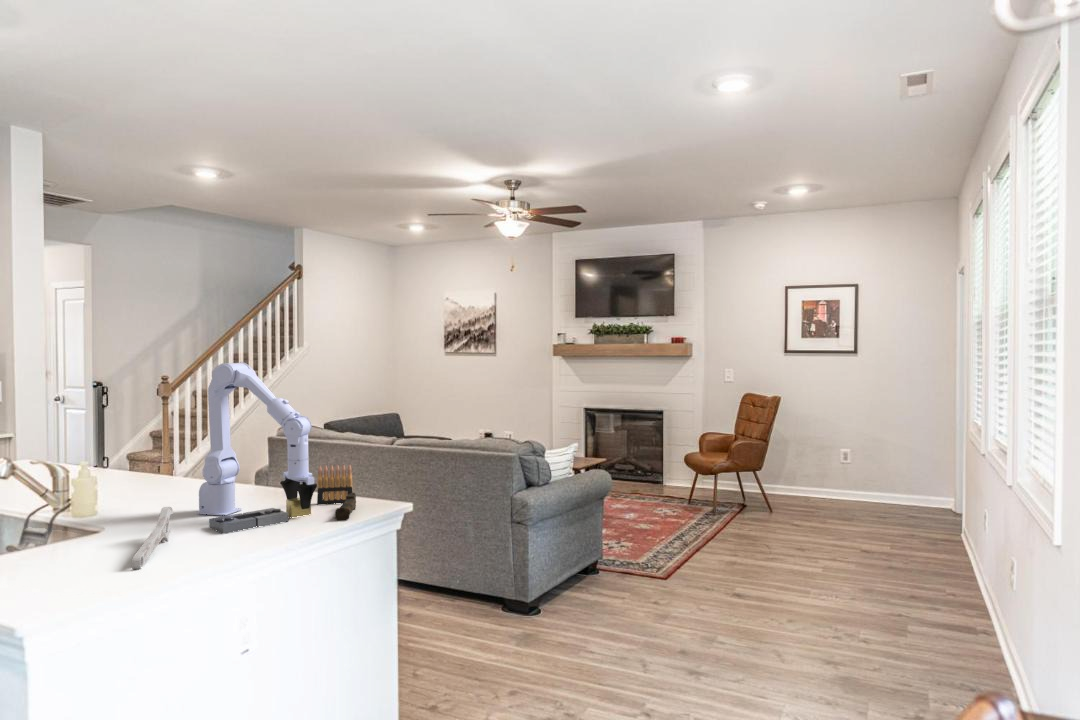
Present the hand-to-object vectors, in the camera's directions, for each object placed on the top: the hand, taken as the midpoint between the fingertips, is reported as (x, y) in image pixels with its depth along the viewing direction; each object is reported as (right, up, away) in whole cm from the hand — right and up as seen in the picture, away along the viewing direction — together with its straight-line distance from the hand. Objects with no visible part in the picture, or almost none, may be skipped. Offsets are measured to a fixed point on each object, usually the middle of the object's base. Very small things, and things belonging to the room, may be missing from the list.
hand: (298, 506), depth 216 cm
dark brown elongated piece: (+13, -3, +3) cm, 13 cm away
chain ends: (-10, -3, -10) cm, 15 cm away
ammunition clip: (+6, -2, +17) cm, 18 cm away
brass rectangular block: (0, -3, 0) cm, 3 cm away
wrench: (-23, -4, -36) cm, 43 cm away
